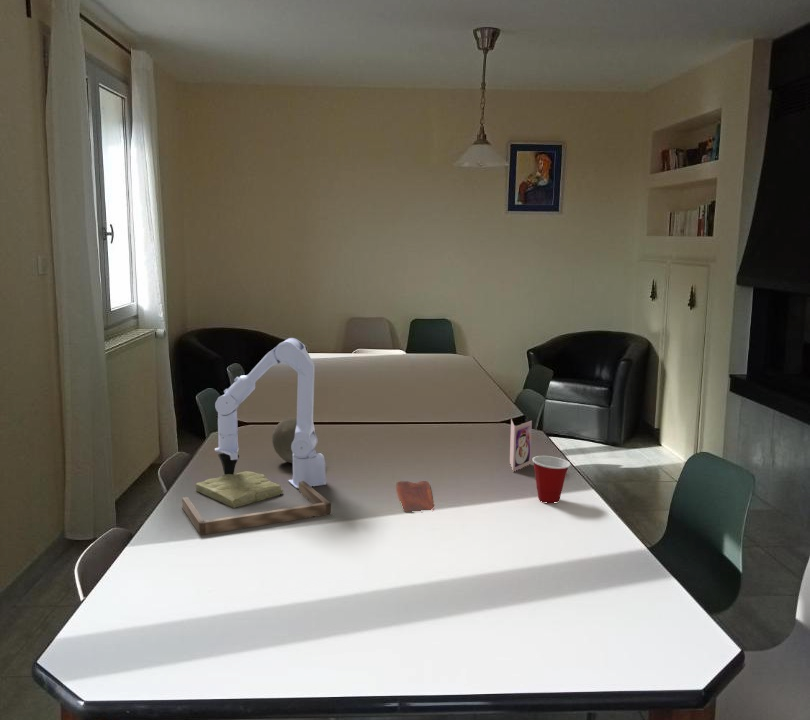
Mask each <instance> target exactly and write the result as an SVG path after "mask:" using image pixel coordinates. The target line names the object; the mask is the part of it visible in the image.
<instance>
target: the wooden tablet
mask: <svg viewBox="0 0 810 720" xmlns="http://www.w3.org/2000/svg"><path fill="white" fill-rule="evenodd" d="M395 487H396V493H397V497H398V500H399V502H400V501H401V503H402V506H403V509H404V510H403V509H402V510H403V512H405V511H406V512H405V513H408V512H412V511H421V510H431V509H432V508H433V507H434V506H435V504H433V503H434V500H433V494H432V490H431V485H430V483H429V482H428V480H427V481H426V480H422V481H418V482H412V481H408V480H407V481H406V480H405V481H404V480H402V481H397V482H396V485H395ZM401 503H400V504H401ZM402 506H401V507H402Z"/></svg>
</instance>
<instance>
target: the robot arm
mask: <svg viewBox="0 0 810 720" xmlns="http://www.w3.org/2000/svg"><path fill="white" fill-rule="evenodd" d="M280 363H283V364H284V365H286V366H289V367H290V368H291V369H293V370H294V371H295V372H296V373H297V388H296V389H297V393H296V395H297V396H296V398H297V399H296V419H297V425H296V430H295V438H294V440H293V442H292V444H291V450H292V452H293V464H292V479H288V482H289V484H291V485H292V486H293V487H294V488H295V489H298V490H299V481H304V482H306V483H307V484H308V485H309V486H311V487H312V486H313V487H318V486H325V485H327V482H326V461H325V459H326V458H325V457H324V455H323V454H322V453H317V451H316V447H317V445H318V437H317V434H316V432H315V425H314V408H315V407H314V406H315V402H314V401H315V371H316V370H315V369H316V368H315V366H316V365H315V363H314V361H313V359H312V358H311V356H310V354H309V353H308V351H307V348H306V345H305V344H304V343H302V342H301V341H300V340H299V339H297V338H295V337H289V338H286V339H285V340H284V341H281V342H279V343H278V344H277V345H276V346H275V347H274V348H273V349H271V350H270V351H268V352H267V353H266V354H265V355H264V356H263V357H262V358H261V360H259V362H258V363H257V364H256V365H255V366H254V367H253V368H252V369H251V371H250V372H249V373H248V374H246V375H244V374H243V375H240V376H236V377H235V378H234V380H233V383H232V384H231V385H230V386H229V387H228V388H225V389H224V390H223V393H224V394H222V395H220V396H218V397H217V399H216V401H215V403H214V407H215V411H216V412H217V433H218V435H217V436H218V437H217V438H218V439H217V441H218V442H217V443H218V447H215V448H214V451H215V452H218V454H217V456H218V458H219V461H220V463H221V465H222V470H223V475H226V474H232V475H233V474H235V468H236V465H237V462H238V460H239V458H240V454H239V453H238V452H239V450H240V449H239V443H238V442H239V438H238V437H239V435H238V408H239V407H240V404H242V403H243V402H244V401H245V400H246V399H247V398H248V397H249V396H250V394H252V393H253V392H254V390H255V389H256V382H257V381H258V380H259V379H260V378H261V377H262V376H264V374H265V373H266V372H267V371H268V370H269V369H270V368H272V366H275V365H279V364H280ZM313 487H312V488H313Z"/></svg>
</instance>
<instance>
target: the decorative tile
mask: <svg viewBox="0 0 810 720" xmlns="http://www.w3.org/2000/svg"><path fill="white" fill-rule="evenodd" d="M195 487H196V488H195V489H196V492H198V493H200V494H203V495H205V496H207V497H209V498H211V499H213V500H215V501H218V502H220V503H222V504H224V505H226V506H229V507H231V508H238V507H241V506H245V505H249V504H252V503H256V502H259V501H263V500H267V499H270V498H273V497H277V496H280V494H281V495H282V494H283V493H284V490H283V489H282V487H281V485H280V484H279V483H275V482H272V481H270V480H269V479H268V478H267V477H266V476H265V475H264V474H263V473H256V472H254V471H249V470H246V471H241V472H237V473H234V474H233V475H232V474H226V475H224V474H223V475H220V476H219V477H214V478H213V477H211V478H207V479H205V480H204V481H200V482H196V484H195Z"/></svg>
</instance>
